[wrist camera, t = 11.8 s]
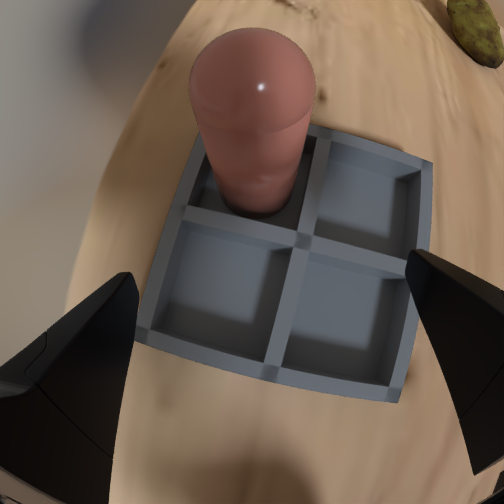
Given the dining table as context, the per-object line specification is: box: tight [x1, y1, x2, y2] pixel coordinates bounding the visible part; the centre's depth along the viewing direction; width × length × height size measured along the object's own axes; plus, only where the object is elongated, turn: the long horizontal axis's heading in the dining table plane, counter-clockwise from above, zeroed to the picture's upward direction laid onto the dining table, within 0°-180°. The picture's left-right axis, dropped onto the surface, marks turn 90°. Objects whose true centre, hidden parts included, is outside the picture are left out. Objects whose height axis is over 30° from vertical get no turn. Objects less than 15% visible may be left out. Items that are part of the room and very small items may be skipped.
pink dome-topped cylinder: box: [189, 28, 316, 219], centre depth 16 cm, size 5×5×13 cm
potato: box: [447, 0, 504, 69], centre depth 23 cm, size 8×13×8 cm, turn 165°
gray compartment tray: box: [134, 124, 433, 403], centre depth 20 cm, size 17×17×3 cm
